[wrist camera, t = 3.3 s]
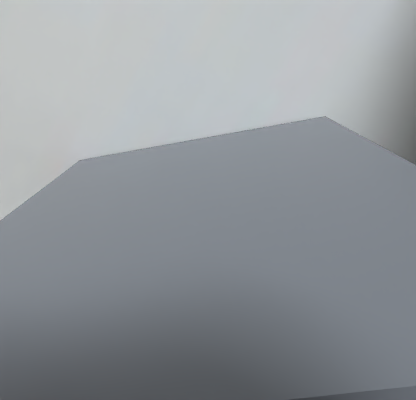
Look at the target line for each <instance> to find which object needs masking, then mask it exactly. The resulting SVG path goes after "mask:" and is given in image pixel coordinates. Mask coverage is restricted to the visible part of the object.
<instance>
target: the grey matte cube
mask: <svg viewBox="0 0 416 400" xmlns="http://www.w3.org/2000/svg"><path fill="white" fill-rule="evenodd" d="M0 400H416V165H415V164H413V163H411V162H409V161H408V160H406V159H404V158H402V157H400V156H398V155H396V154H394V153H393V152H391V151H389V150H387V149H385V148H383V147H381V146H379V145H378V144H376V143H374V142H372V141H370V140H368V139H366V138H364V137H363V136H361V135H359V134H357V133H355V132H353V131H351V130H349V129H348V128H346V127H344V126H342V125H340V124H338V123H336V122H335V121H333V120H331V119H329V118H327V117H319V118H314V119H308V120H303V121H297V122H291V123H286V124H280V125H275V126H269V127H263V128H258V129H252V130H247V131H241V132H235V133H230V134H224V135H218V136H213V137H207V138H202V139H196V140H190V141H185V142H179V143H174V144H168V145H162V146H157V147H151V148H146V149H140V150H134V151H129V152H123V153H118V154H112V155H106V156H101V157H95V158H90V159H84V160H80V161H78V162H77V163H76V164H74V165H73V166H72V167H70V168H69V169H68V170H66V171H65V172H64V173H62V174H61V175H60V176H59V177H57V178H56V179H55V180H53V181H52V182H51V183H49V184H48V185H47V186H45V187H44V188H43V189H41V190H40V191H39V192H37V193H36V194H35V195H34V196H32V197H31V198H30V199H28V200H27V201H26V202H24V203H23V204H22V205H20V206H19V207H18V208H16V209H15V210H14V211H12V212H11V213H10V214H9V215H7V216H6V217H5V218H3V219H2V220H1V221H0Z"/></svg>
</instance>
